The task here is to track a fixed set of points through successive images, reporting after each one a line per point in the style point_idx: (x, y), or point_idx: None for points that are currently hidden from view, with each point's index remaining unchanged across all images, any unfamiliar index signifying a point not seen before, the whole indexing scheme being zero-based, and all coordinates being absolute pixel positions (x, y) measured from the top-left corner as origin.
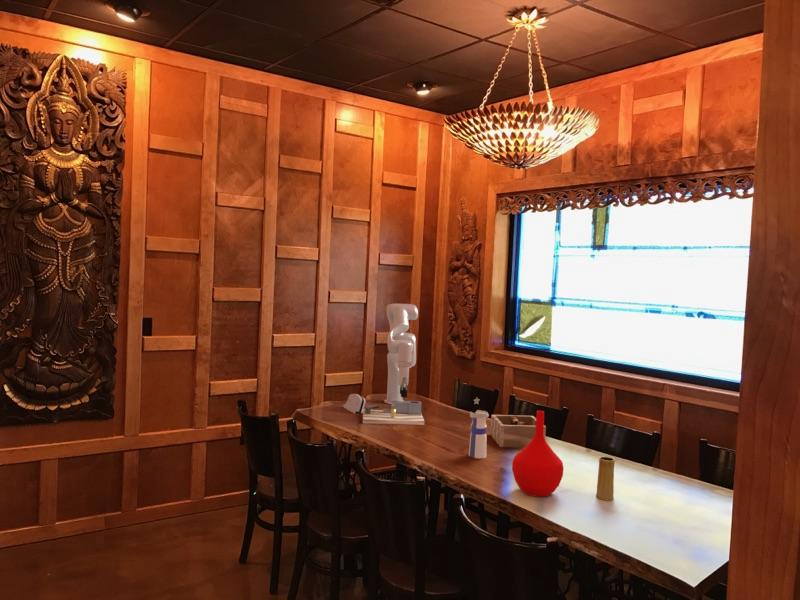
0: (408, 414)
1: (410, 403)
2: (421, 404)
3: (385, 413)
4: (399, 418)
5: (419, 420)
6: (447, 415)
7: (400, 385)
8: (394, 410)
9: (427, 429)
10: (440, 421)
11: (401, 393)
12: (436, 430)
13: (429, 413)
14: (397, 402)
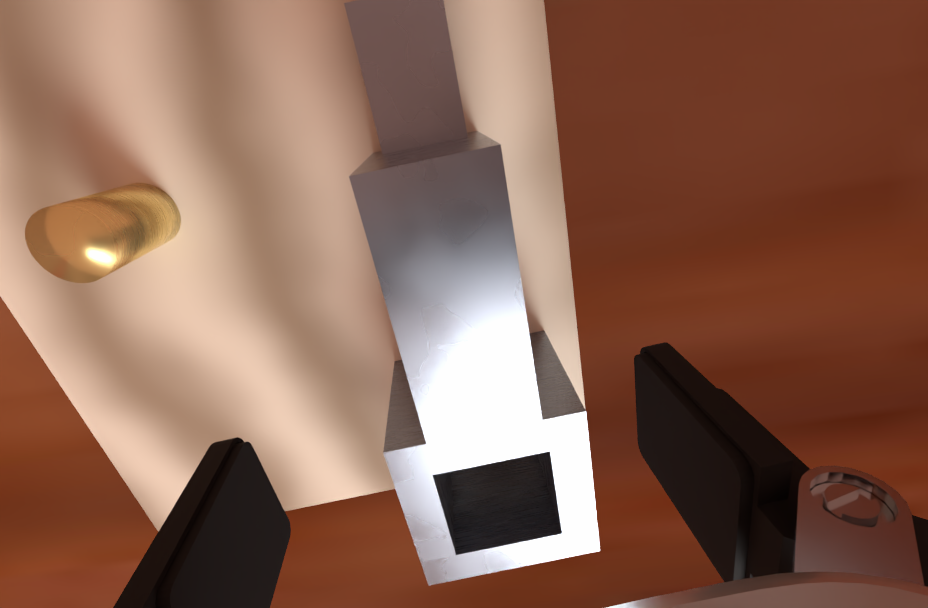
0: (390, 364)
1: (392, 473)
2: (429, 576)
3: (321, 58)
4: (121, 302)
5: (161, 497)
6: (606, 593)
7: (887, 491)
8: (51, 263)
9: (33, 545)
10: (378, 582)
11: (180, 516)
12: (50, 598)
13: (656, 480)
14: (385, 280)
